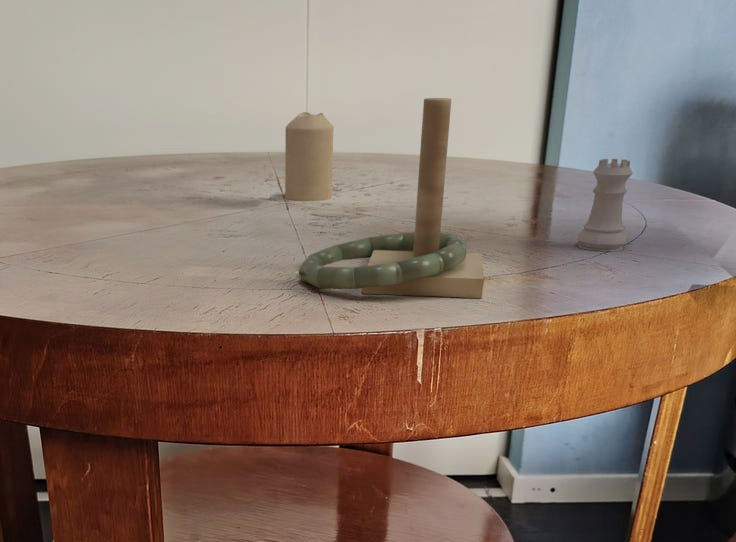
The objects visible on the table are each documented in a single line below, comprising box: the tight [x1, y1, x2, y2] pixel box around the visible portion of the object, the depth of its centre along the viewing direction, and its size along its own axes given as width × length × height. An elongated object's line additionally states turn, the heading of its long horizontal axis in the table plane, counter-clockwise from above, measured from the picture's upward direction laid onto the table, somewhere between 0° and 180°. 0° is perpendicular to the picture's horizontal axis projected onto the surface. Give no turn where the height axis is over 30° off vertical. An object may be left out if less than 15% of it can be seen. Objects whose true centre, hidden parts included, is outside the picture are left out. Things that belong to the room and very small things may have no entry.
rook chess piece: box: [576, 158, 634, 252], centre depth 79 cm, size 4×4×8 cm
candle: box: [284, 111, 334, 202], centre depth 105 cm, size 6×6×10 cm
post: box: [362, 97, 485, 299], centre depth 69 cm, size 9×9×14 cm
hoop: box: [298, 231, 467, 290], centre depth 72 cm, size 13×13×2 cm
